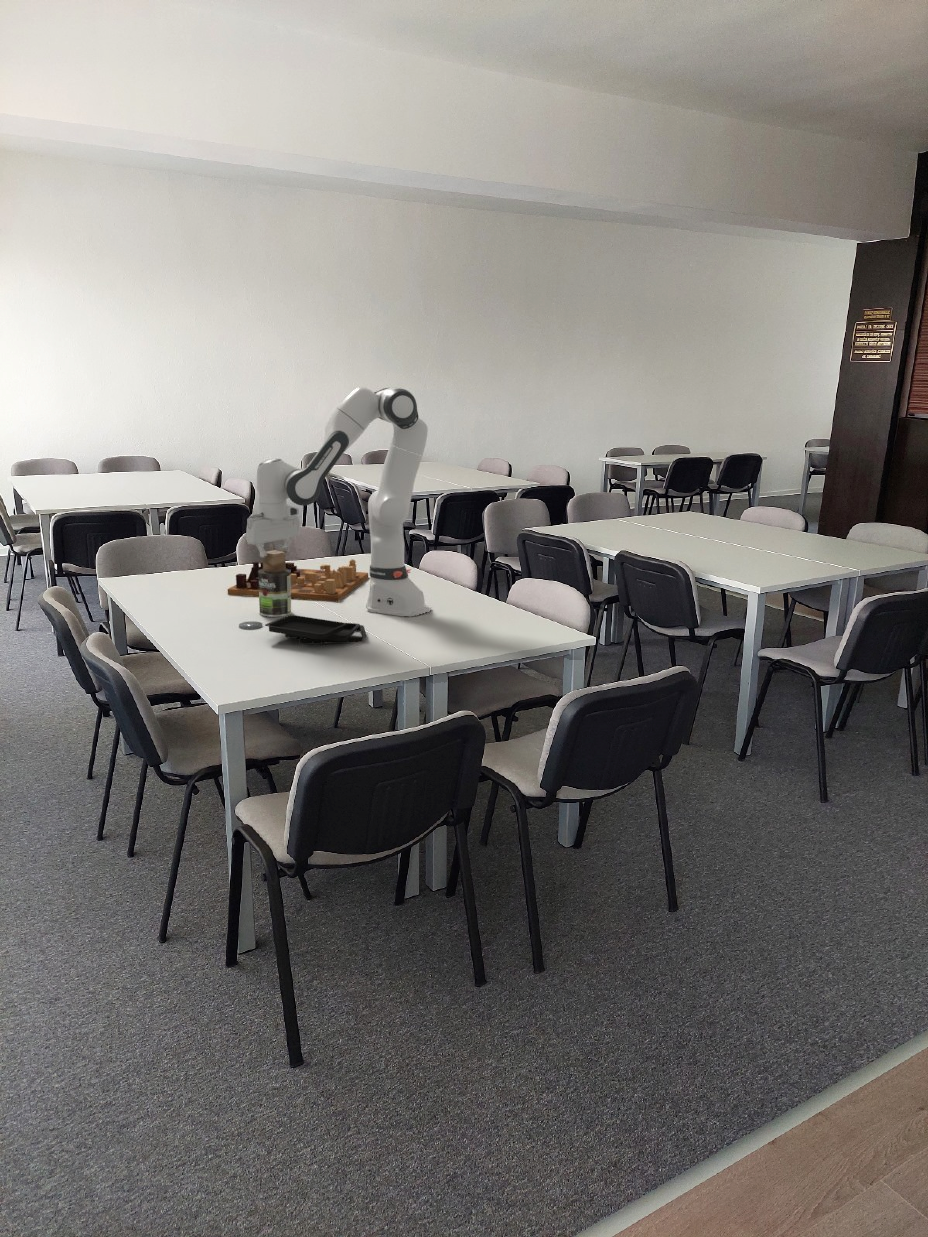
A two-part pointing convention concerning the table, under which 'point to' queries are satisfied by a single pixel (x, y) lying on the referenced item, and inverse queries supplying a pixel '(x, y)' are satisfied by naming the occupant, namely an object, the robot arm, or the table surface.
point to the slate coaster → (250, 625)
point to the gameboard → (307, 582)
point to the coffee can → (275, 593)
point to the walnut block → (274, 561)
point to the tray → (316, 630)
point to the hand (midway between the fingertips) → (274, 554)
